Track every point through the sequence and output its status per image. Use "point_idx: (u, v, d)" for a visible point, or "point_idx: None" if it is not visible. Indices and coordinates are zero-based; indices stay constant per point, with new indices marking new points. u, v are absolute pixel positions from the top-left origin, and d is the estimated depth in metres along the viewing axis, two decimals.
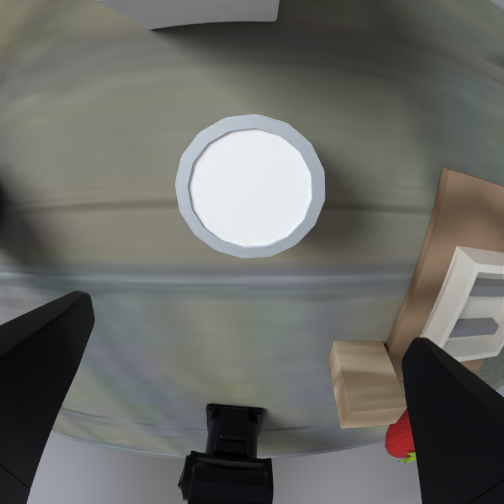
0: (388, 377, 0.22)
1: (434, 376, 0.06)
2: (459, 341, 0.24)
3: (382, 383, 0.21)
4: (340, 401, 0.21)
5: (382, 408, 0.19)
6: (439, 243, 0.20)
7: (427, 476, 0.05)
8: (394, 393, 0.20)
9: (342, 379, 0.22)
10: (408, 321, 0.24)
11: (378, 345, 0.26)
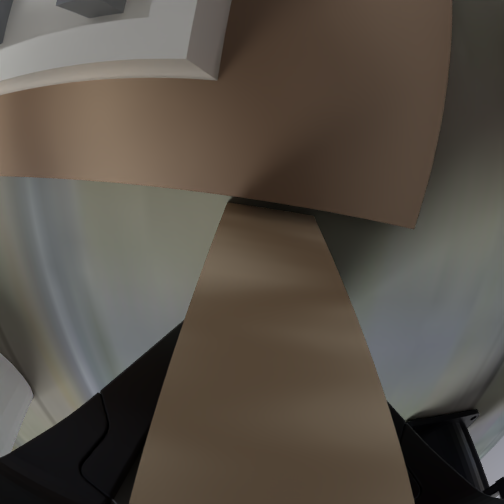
0: None
1: None
2: None
3: None
4: None
5: None
6: None
7: None
8: None
9: None
10: (105, 157, 0.07)
11: None
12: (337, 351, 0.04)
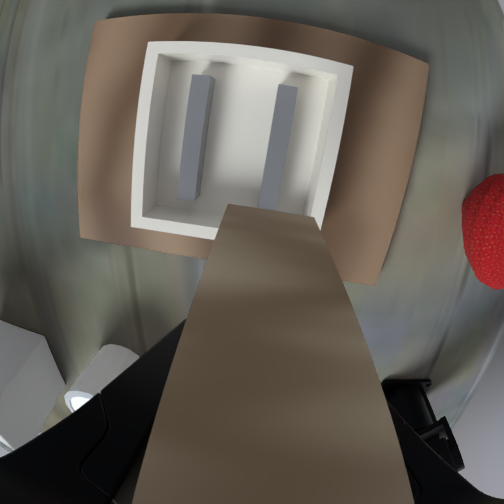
0: None
1: None
2: (315, 158, 0.16)
3: None
4: None
5: None
6: (148, 237, 0.20)
7: None
8: None
9: None
10: None
11: None
12: (338, 354, 0.04)
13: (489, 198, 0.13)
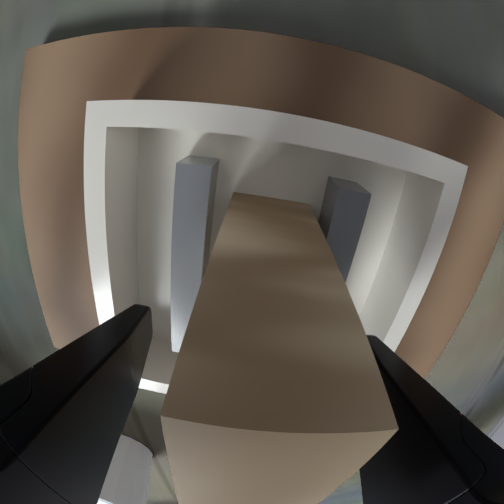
0: None
1: None
2: (373, 287, 0.11)
3: None
4: None
5: (174, 479, 0.04)
6: None
7: (371, 487, 0.05)
8: None
9: None
10: None
11: None
12: (325, 298, 0.05)
13: None
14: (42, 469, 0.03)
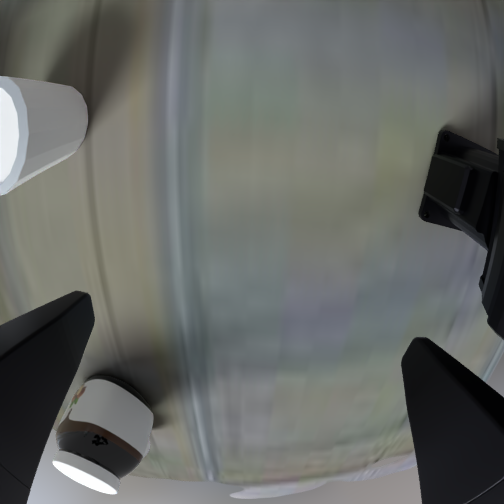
0: None
1: (434, 376, 0.06)
2: None
3: None
4: None
5: None
6: None
7: (427, 476, 0.05)
8: None
9: None
10: None
11: None
12: None
13: None
14: None
